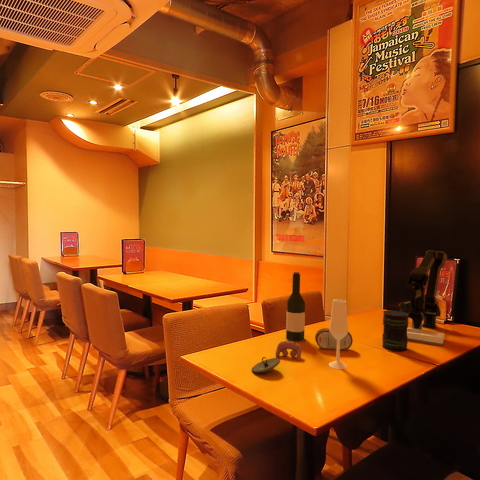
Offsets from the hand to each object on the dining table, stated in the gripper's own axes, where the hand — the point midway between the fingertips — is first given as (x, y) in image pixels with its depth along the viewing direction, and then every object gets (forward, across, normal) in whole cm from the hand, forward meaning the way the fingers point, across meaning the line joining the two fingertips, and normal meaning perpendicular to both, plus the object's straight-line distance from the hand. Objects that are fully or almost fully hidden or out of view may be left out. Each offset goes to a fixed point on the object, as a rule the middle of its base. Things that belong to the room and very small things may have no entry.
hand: (416, 329), depth 183 cm
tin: (+2, +46, -26) cm, 53 cm away
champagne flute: (+2, +63, -19) cm, 66 cm away
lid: (+2, +82, -39) cm, 91 cm away
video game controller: (+2, +65, -38) cm, 75 cm away
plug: (+2, 0, 0) cm, 2 cm away
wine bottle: (+2, +42, -45) cm, 62 cm away
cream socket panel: (+2, +11, 0) cm, 11 cm away
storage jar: (+2, +30, -5) cm, 30 cm away
